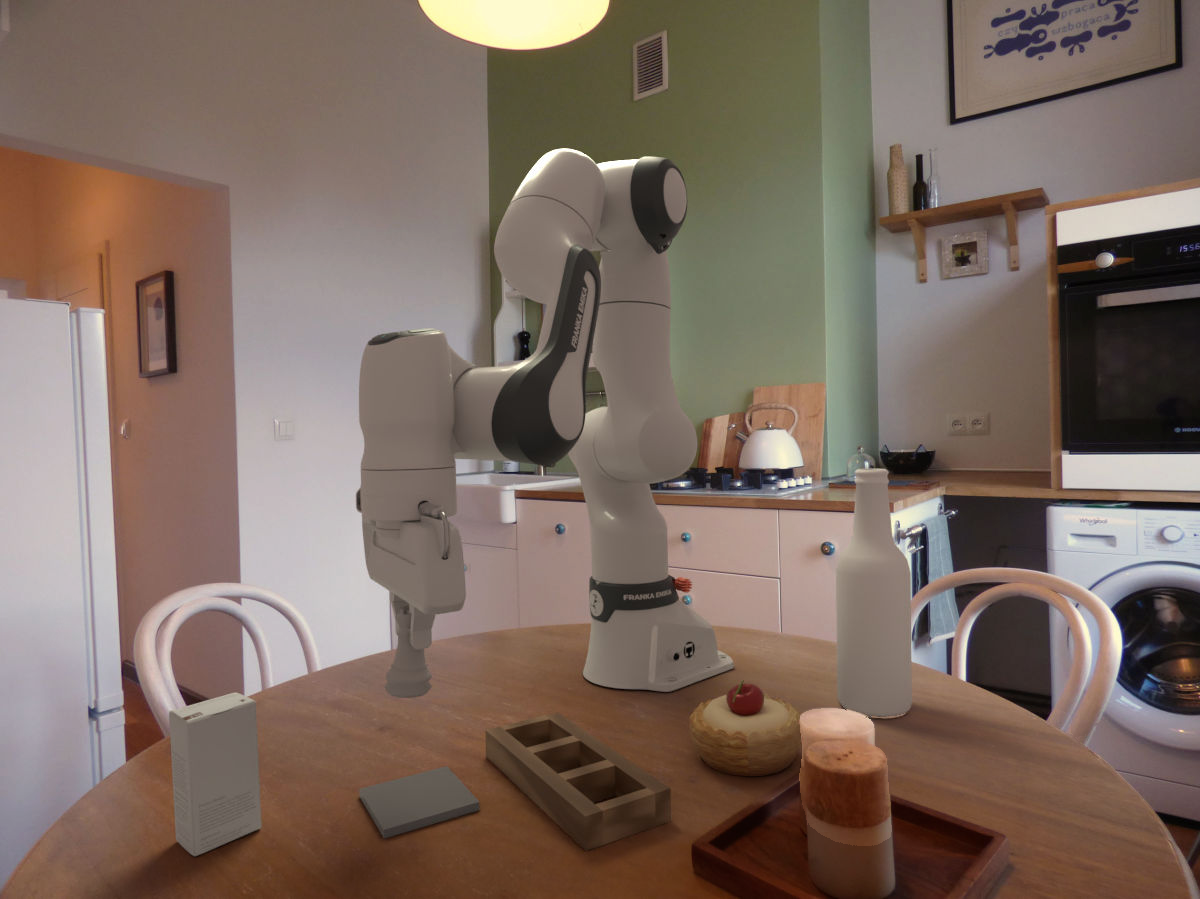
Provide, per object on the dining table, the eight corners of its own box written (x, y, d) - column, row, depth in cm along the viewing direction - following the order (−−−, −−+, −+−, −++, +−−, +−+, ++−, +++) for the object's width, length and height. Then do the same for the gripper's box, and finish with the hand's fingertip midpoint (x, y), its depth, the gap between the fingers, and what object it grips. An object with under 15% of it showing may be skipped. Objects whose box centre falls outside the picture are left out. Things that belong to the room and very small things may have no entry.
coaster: (447, 773, 79) (446, 766, 79) (479, 810, 71) (479, 801, 71) (359, 796, 74) (359, 788, 74) (384, 838, 67) (383, 829, 67)
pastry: (807, 742, 85) (806, 664, 85) (799, 791, 74) (798, 701, 73) (702, 730, 89) (701, 655, 89) (679, 775, 78) (678, 689, 77)
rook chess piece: (420, 701, 70) (426, 614, 70) (375, 696, 70) (380, 610, 70) (438, 687, 74) (443, 605, 74) (395, 682, 75) (400, 601, 75)
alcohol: (927, 714, 92) (925, 469, 91) (869, 725, 89) (866, 472, 88) (878, 691, 100) (876, 466, 99) (823, 700, 97) (820, 469, 96)
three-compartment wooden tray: (558, 737, 87) (557, 712, 87) (671, 820, 69) (670, 788, 68) (486, 756, 83) (485, 729, 83) (585, 851, 64) (585, 816, 64)
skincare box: (241, 815, 71) (237, 688, 71) (264, 830, 68) (259, 699, 68) (171, 843, 67) (166, 708, 66) (192, 861, 64) (187, 720, 63)
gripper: (482, 504, 65) (485, 664, 65) (410, 489, 82) (413, 615, 83) (409, 509, 61) (413, 677, 62) (351, 493, 79) (354, 624, 79)
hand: (413, 641), depth 72 cm, fingers closed on rook chess piece, 3 cm apart
